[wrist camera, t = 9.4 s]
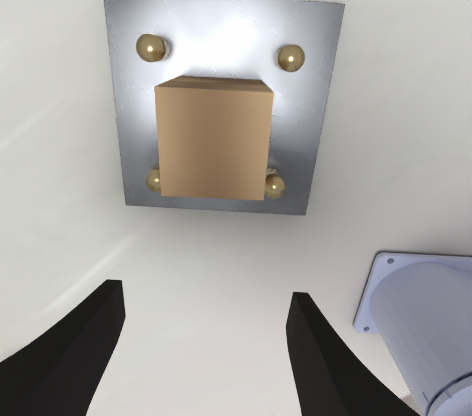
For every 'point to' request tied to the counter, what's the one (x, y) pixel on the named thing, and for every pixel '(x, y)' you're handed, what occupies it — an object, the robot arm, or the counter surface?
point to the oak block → (213, 137)
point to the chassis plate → (224, 66)
